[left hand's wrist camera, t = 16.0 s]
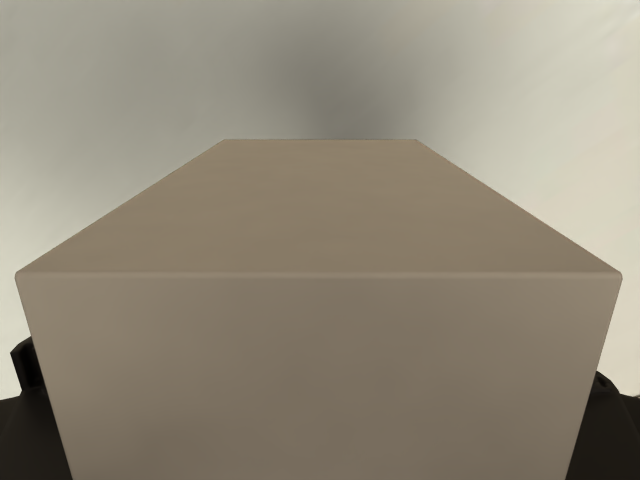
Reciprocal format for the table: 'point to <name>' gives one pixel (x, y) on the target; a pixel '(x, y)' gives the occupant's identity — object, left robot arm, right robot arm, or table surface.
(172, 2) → the table surface
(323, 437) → the box
